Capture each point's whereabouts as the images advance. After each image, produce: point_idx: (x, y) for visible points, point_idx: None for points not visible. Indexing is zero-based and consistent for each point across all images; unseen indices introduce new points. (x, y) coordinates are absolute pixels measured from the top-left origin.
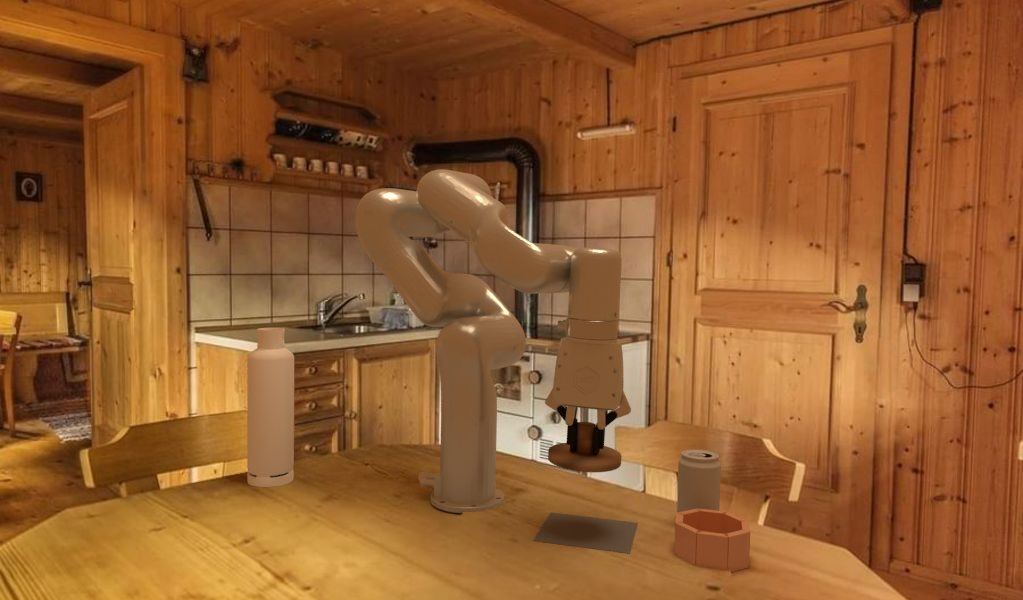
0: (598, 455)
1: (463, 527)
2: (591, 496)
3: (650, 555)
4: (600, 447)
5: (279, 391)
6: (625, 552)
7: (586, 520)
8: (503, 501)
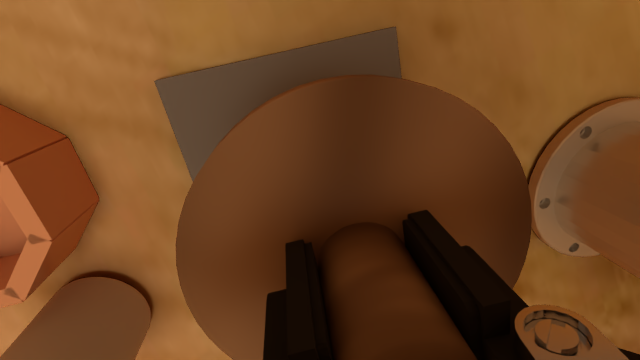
0: None
1: (572, 37)
2: None
3: (122, 120)
4: (279, 290)
5: None
6: (165, 79)
7: None
8: None
